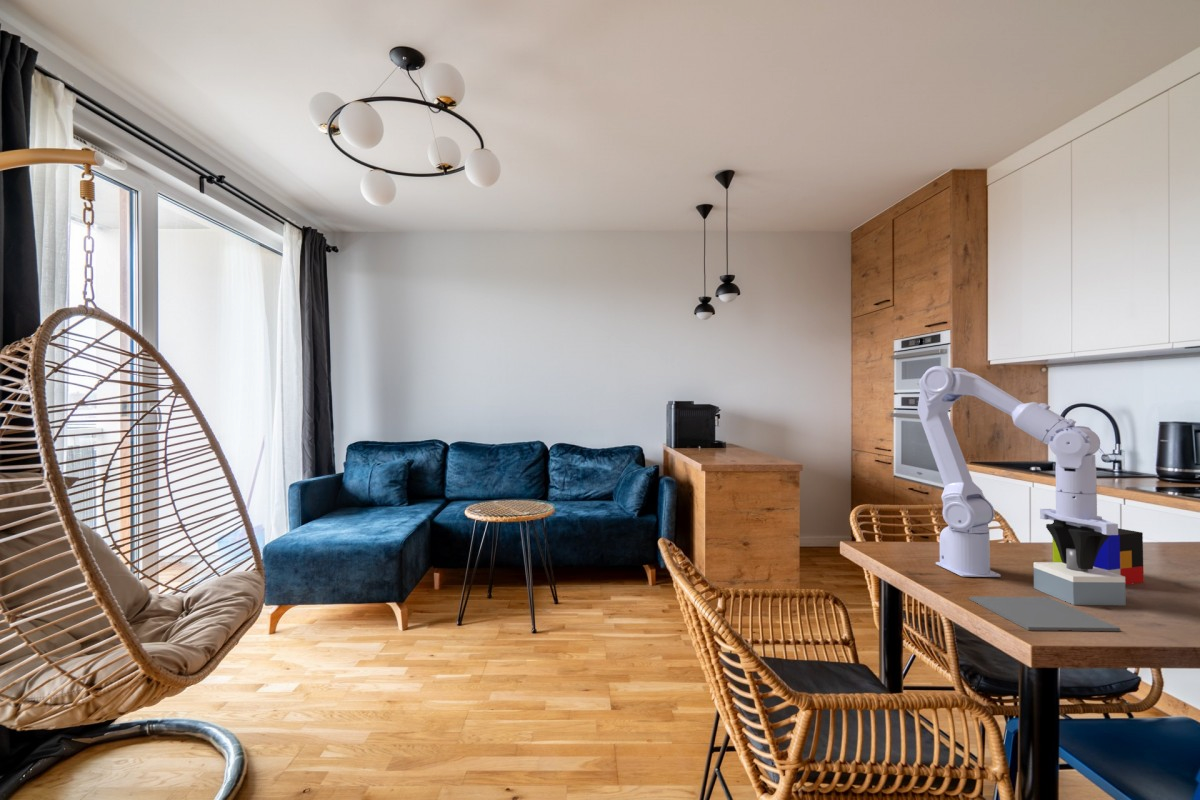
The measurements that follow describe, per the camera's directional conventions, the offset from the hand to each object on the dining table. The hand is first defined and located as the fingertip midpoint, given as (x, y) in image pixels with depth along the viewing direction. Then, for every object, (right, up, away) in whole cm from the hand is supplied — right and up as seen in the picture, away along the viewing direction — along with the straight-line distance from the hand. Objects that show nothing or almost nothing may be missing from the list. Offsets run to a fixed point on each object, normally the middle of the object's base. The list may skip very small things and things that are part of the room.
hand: (1077, 565), depth 100 cm
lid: (0, -2, 0) cm, 2 cm away
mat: (-14, -5, -9) cm, 18 cm away
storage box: (0, -6, 0) cm, 6 cm away
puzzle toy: (+14, -6, +12) cm, 19 cm away
